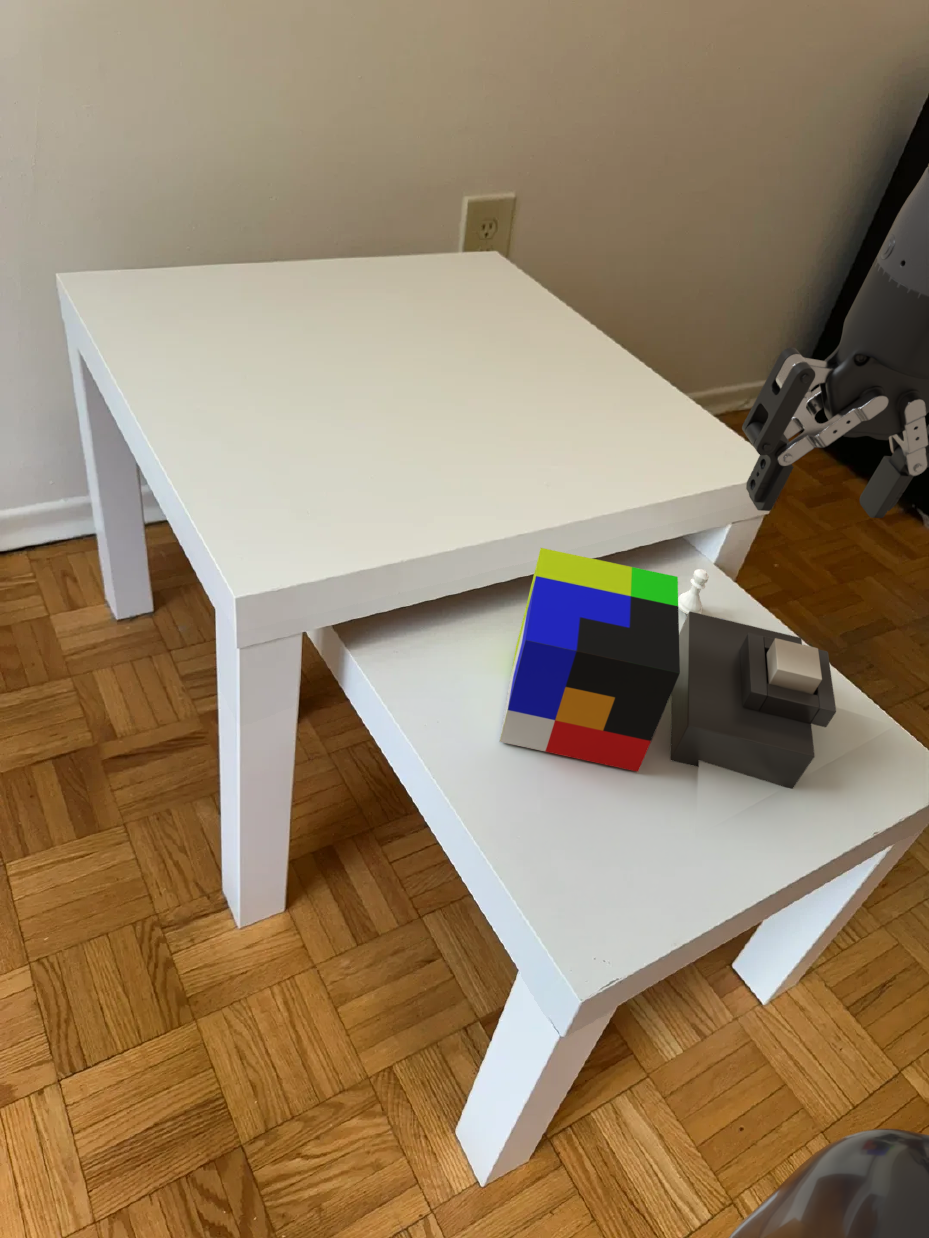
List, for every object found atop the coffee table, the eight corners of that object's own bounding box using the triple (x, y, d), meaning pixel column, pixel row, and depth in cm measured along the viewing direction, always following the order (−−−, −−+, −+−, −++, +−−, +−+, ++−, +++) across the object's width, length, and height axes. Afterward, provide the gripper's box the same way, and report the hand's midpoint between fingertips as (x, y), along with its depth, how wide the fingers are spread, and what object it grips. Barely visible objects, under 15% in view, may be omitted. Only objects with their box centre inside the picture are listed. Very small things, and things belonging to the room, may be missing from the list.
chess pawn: (706, 613, 80) (722, 578, 77) (689, 619, 79) (704, 583, 76) (687, 595, 81) (701, 559, 78) (670, 600, 80) (683, 564, 78)
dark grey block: (805, 795, 67) (841, 744, 63) (669, 761, 67) (696, 709, 63) (793, 676, 76) (824, 624, 72) (673, 647, 76) (696, 594, 72)
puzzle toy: (499, 741, 66) (525, 640, 59) (515, 647, 73) (540, 547, 67) (638, 771, 66) (679, 673, 59) (640, 673, 73) (677, 576, 67)
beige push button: (812, 695, 66) (822, 679, 65) (768, 685, 67) (777, 668, 65) (808, 664, 69) (818, 648, 68) (766, 653, 69) (775, 637, 68)
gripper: (866, 290, 47) (740, 538, 58) (1092, 319, 50) (933, 548, 61) (804, 229, 52) (699, 467, 63) (1012, 260, 56) (879, 480, 67)
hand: (814, 507), depth 62 cm, fingers open, 8 cm apart
